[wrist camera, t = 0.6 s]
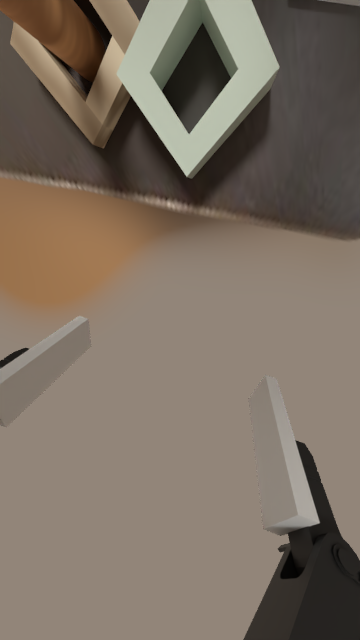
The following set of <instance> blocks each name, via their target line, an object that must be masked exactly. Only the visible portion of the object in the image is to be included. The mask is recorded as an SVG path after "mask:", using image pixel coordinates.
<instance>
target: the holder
mask: <svg viewBox="0 0 360 640" xmlns="http://www.w3.org/2000/svg"><path fill="white" fill-rule="evenodd" d="M89 1H90V2H91V4H92V5H93V7H94V8H95V10H96V11H97V13H98V14H99V16H100V17H101V19H102V20H103V22H104V24H105V25H106V27H107V28H108V30H109V31H110V33H111V34H112V38H111V40H110V43H109V45H108V48H107V50H106V53H105V55H104V58H103V60H102V63H101V65H100V67H99V70H98V72H97V75H96V77H95V80H94V82H93V85H92V87H91V90H90V92H89V95H88V97H87V95H86V94H85V93H84V91H83V90H82V89H81V88H80V86H79V85H78V84H77V82H76V81H75V80H74V78H73V77H72V76H71V74H70V73H69V72H68V70H67V69H66V68H65V66H64V65H63V64H62V62H61V61H60V60H59V59H58V57H57V56H56V55H55V54H54V53H53V52H51V51H50V50H49V49H48V48H47V47H45V46H44V45H43V44H42V43H40V42H39V41H38V40H37V39H35V38H34V37H33V36H32V35H30V34H29V33H28V32H27V31H25V30H24V29H23V28H22V27H20V26H19V25H18V24H17V23H15V22H14V25H13V30H12V36H11V42H10V44H11V45H12V46H13V47H14V49H15V50H16V51H17V52H18V54H19V55H20V56H21V57H22V58H23V60H24V61H25V62H26V63H27V65H28V66H29V67H30V68H31V69H32V71H33V72H34V73H35V74H36V76H37V77H38V78H39V79H40V81H41V82H42V83H43V84H44V85H45V87H46V88H47V89H48V90H49V92H50V93H51V94H52V95H53V96H54V98H55V99H56V100H57V101H58V103H59V104H60V105H61V106H62V108H63V109H64V110H65V111H66V112H67V114H68V115H69V116H70V117H71V119H72V120H73V121H74V122H75V123H76V125H77V126H78V127H79V128H80V130H81V131H82V132H83V133H84V135H85V136H86V137H87V138H88V139H89V141H90V142H91V143H92V144H93V145H95V146H98V147H101V148H103V149H104V147H105V145H106V143H107V141H108V139H109V137H110V135H111V133H112V132H113V130H114V128H115V126H116V124H117V122H118V120H119V118H120V116H121V114H122V112H123V110H124V108H125V107H126V105H127V103H128V101H129V99H130V97H131V95H130V93H129V92H128V90H127V89H126V88H125V86H124V85H123V83H122V82H121V80H120V79H119V77H118V76H117V74H116V73H117V71H118V69H119V67H120V65H121V62H122V60H123V58H124V56H125V54H126V51H127V49H128V47H129V45H130V43H131V40H132V38H133V36H134V34H135V32H136V29H137V27H138V25H139V23H140V22H139V20H138V18H137V16H136V15H135V13H134V11H133V10H132V8H131V6H130V5H129V3H128V1H127V0H89Z"/></svg>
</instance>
